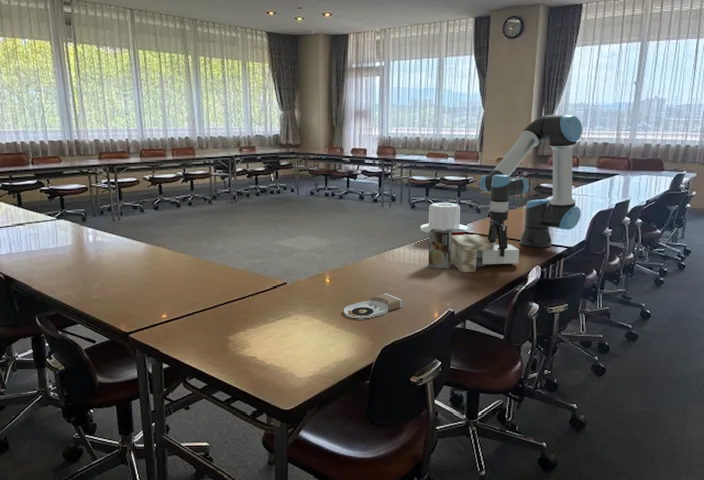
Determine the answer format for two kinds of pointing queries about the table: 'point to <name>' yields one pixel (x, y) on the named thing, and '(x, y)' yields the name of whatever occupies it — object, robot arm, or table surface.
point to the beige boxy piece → (468, 251)
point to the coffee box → (440, 248)
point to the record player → (374, 306)
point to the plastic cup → (457, 231)
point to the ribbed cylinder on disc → (443, 217)
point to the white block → (492, 255)
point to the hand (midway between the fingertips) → (496, 260)
